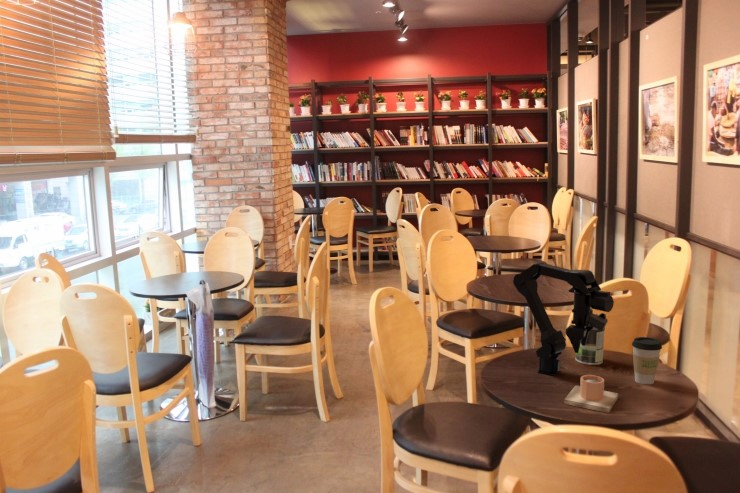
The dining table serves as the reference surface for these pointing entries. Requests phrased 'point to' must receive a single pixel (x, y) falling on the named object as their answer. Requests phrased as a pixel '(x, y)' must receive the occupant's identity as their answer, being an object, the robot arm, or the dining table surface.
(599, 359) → the coffee can
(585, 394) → the collar sleeve
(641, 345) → the coffee cup
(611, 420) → the dining table surface
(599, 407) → the duct mount
